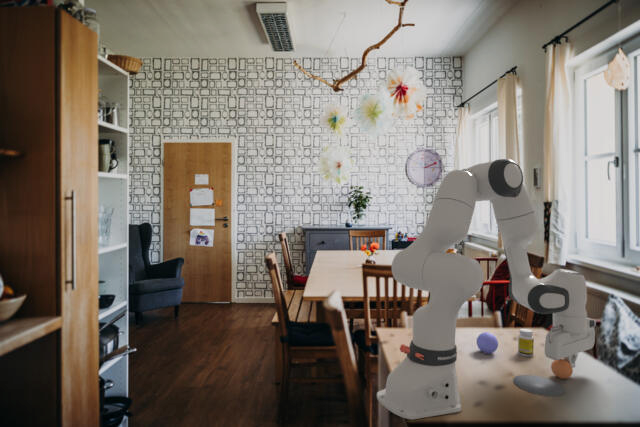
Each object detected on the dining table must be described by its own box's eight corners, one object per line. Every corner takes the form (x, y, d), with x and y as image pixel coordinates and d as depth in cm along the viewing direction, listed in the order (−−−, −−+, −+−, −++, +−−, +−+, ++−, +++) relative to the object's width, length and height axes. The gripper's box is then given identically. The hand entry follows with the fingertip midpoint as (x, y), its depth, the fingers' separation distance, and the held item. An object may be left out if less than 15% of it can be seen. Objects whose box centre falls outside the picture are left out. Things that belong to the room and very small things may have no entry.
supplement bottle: (535, 357, 134) (535, 332, 134) (520, 356, 135) (520, 331, 135) (530, 352, 139) (531, 328, 139) (516, 351, 140) (516, 327, 140)
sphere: (493, 349, 141) (494, 330, 141) (500, 357, 134) (501, 336, 134) (473, 348, 142) (474, 329, 142) (479, 356, 135) (480, 335, 135)
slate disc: (546, 400, 105) (546, 399, 105) (503, 380, 116) (503, 380, 116) (574, 389, 111) (575, 389, 111) (531, 372, 122) (531, 371, 122)
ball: (573, 383, 117) (563, 379, 114) (554, 376, 122) (545, 371, 119) (578, 365, 118) (569, 360, 115) (559, 359, 123) (550, 354, 120)
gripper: (559, 331, 112) (560, 379, 113) (599, 319, 122) (599, 364, 122) (538, 325, 118) (538, 371, 118) (577, 315, 127) (578, 357, 128)
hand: (569, 367), depth 120 cm, fingers closed
